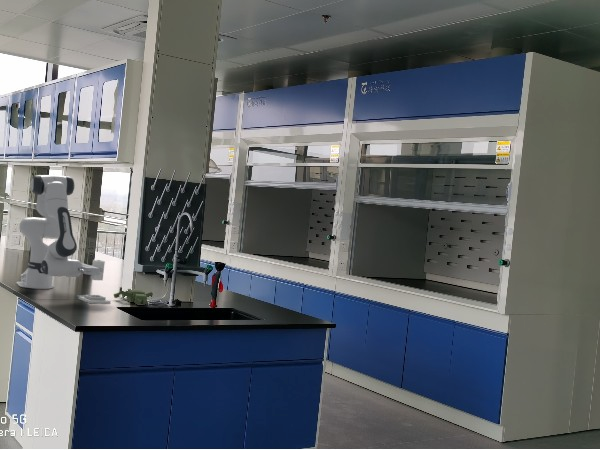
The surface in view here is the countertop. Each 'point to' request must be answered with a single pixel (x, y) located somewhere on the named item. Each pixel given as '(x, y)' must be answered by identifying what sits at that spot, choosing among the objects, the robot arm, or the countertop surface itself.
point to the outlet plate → (94, 299)
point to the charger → (99, 265)
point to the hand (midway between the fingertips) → (99, 269)
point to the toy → (134, 296)
